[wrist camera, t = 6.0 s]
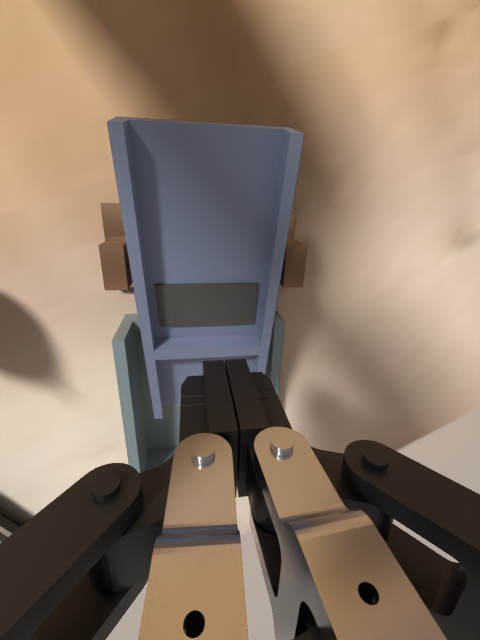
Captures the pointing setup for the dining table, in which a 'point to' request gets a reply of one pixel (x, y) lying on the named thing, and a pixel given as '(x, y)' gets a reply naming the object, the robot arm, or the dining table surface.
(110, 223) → the lever stand
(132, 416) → the cup
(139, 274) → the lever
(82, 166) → the dining table surface
